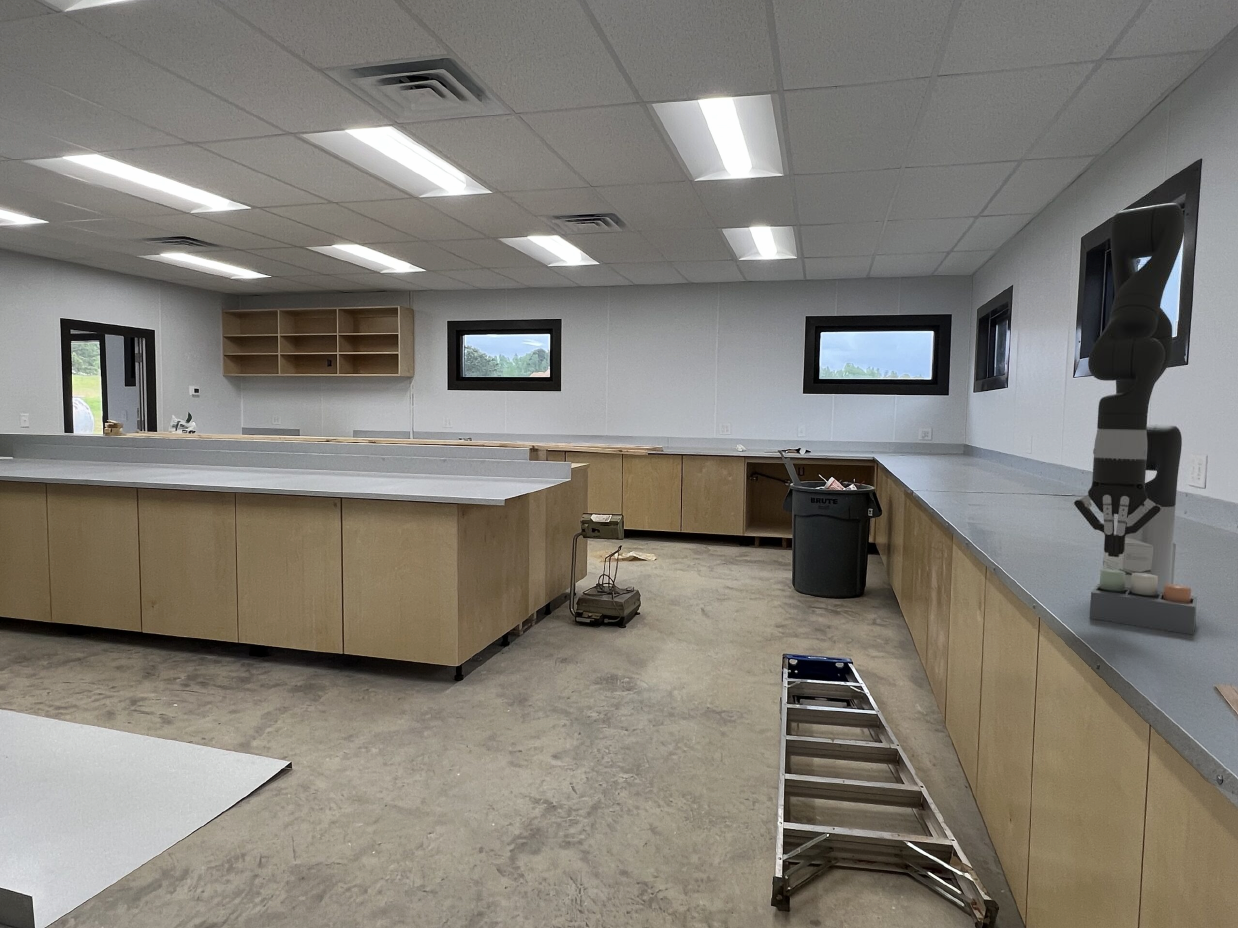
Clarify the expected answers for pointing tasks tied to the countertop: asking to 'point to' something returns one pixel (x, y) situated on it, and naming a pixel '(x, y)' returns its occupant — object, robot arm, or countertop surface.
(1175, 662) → the countertop surface
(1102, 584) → the sage button
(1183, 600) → the terracotta button
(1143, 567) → the ink box
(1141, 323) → the robot arm
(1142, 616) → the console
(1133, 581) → the cream button
